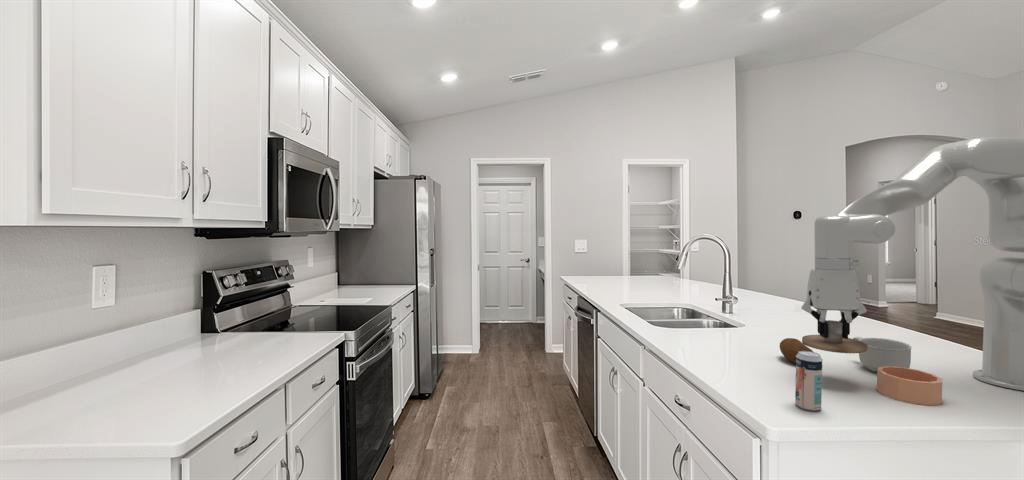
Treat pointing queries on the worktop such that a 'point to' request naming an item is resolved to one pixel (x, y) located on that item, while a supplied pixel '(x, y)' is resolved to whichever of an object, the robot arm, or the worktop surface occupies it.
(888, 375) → the bowl
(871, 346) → the teacup
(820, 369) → the beer can
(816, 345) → the lid
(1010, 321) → the robot arm
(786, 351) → the potato
